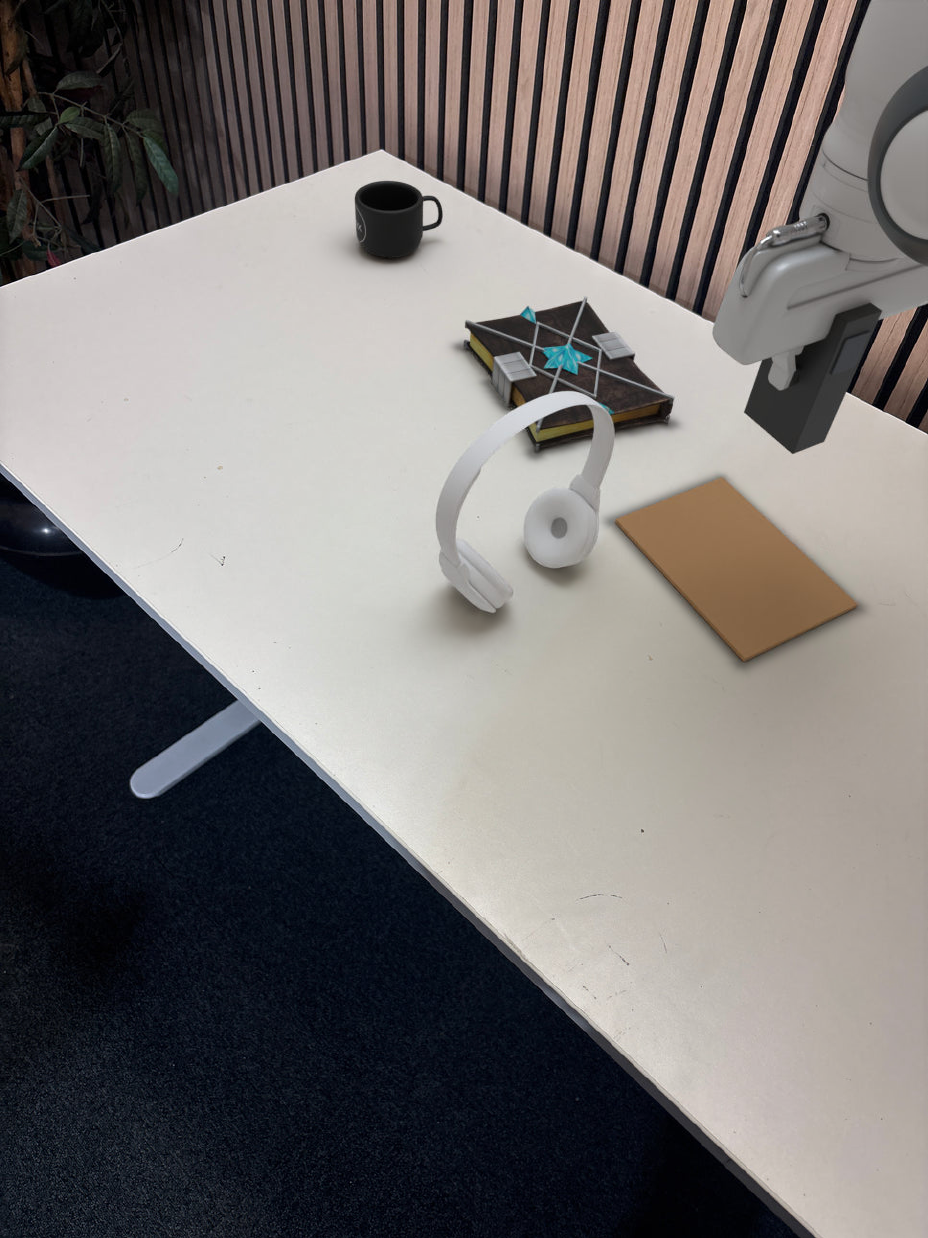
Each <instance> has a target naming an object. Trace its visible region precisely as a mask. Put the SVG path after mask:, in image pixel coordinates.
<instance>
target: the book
mask: <svg viewBox="0 0 928 1238" xmlns="http://www.w3.org/2000/svg"><path fill="white" fill-rule="evenodd" d="M464 328H465V329H467V330H468V331H469V332H470V333H469V334H470V337H469V340H468V339H464V340H463V346H462V347H463V348H465V349H468V350H470V352H471V353H472V354H473V355H474V356H475V358H476V359H477V360H478V361H479V362H480V364H481V365H482V366H483V368H484V369H485V370H486V371H487V372H488V374H489V376H491V384H492V386H493V387H494V389H495V390H496V392H497V393H498V395H499V397H500V398H501V399H502V401H503V402H504V403H505V405H506V407H507V408H510V407H513V408H514V409H516V408H518V407H520V406H522V405H524V404H526V403H528V402H530V401H532V400H534V399H537V398H539V397H542V396H544V395H548V394H551V393H555V392H562V391H574V392H579V393H582V394H585V395H587V396H588V397H590V398H592V399H593V400H595V401H596V402H597V403H599V404H600V405H601V406H602V407H603V408H604V409H605V410H606V411H607V412H608V413H609V415H610V416H611V418H612V421H613V425H614V431H615V430H619V429H623V428H628V427H634V426H639V425H640V426H641V425H644V424H649V423H657V422H661V421H662V422H663V423H667V424H668V423H669V422H670V420H671V415H670V414H672V411H673V407H674V401H675V396H673V395H670V394H668V393H666V392H664V391H663V390H662V389H661V388H660V387H659V386H658V385H657V384H656V383H655V382H654V381H653V380H651V379H650V378H649V377H648V375H647V374H646V373H645V372H643V371H642V370H641V369H640V367H639V366H638V365H637V364H636V362H634V361H635V357H636V353H635V351H634V350H633V349H632V348H631V347H630V346H629V344H628V342H626V341H625V340H624V338H623V337H622V336H621V335H620V334H619V333H618V332H617V331H611V332H610V330H609V329H608V328H607V327H606V326H605V324H604V322H603V321H602V320H601V318H600V317H599V316H598V314H597V313H596V312H595V310H594V309H593V307H592V306H591V304H589V302H588V296H584V297H583V300H578V301H575V302H571V303H568V304H563V305H559V306H554V307H551V308H547V309H542V310H536V311H535V310H534V309H532V308H531V307H530V306H529V305H527V306H526V307H525V308H524V309H523V311H522V312H521V313H519V314H517V315H511V316H506V317H502V318H496V319H489V320H484V321H476V322H474V321H471V320H468V319H466V320H464ZM525 429H526V430H527V432H528V434H529V437H530V439H531V440H532V442H533V444H534V446H535V448H534V451H535V452H539V450H540V449H541V448H545V447H548V446H552V445H556V444H560V443H564V442H568V441H572V440H575V439H579V438H584V437H589V436H593V434H594V420H593V415H592V412H591V410H590V408H589V407H588V406H587V405H575V406H571V407H567V408H564V409H561V410H558V411H556V412H554V413H551V414H549V415H547V416H545V417H543V418H541V419H539V420H537V421H536V422H534V423H532V424H530V425H529V426H527V427H526V428H525Z"/></svg>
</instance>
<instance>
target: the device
mask: <svg viewBox="0 0 928 1238" xmlns="http://www.w3.org/2000/svg"><path fill="white" fill-rule="evenodd" d="M881 313H882V310H881V309H879V308H878V307H876V306H875V305H873V304H872V303H868V304H865V305H862V306H859V307H856V308H853V309H850V310H847V311H844V312H841V313H838V314H836V315H835V317H834V320H833V323H832V325H831V328H830V331H829V333H828V335H827V336H826V338H825V339H823V340H820V341H817V342H814V343H811V344H808V345H805V346H804V347H803V350H802V352H801V353H800V354H799V355H795V363H797V364H798V365H799V366H800V367H802V368H803V370H802V372H801V375H800V377H799V378H798V382H797V384H796V385H794V386H791V387H789V388H786V389H784V390H778V389H777V388H776V387H775V386H773V385H772V384H771V383H770V382H769V380H768V375H769V372H770V369H771V367H772V364H773V361H772V358H771V357H770V358H767V359H764V360H761V361H760V364H759V367H758V370H757V373H756V376H755V379H754V382H753V385H752V387H751V390H750V393H749V397H748V399H747V402H746V405H745V408H744V411H743V413H744V414H745V415H746V416H747V417H748V418H750V419H751V420H752V421H753V422H754V423H755V424H757V425H758V426H759V427H760V428H761V429H762V430H764V431H765V432H766V433H767V434H768V435H769V436H771V437H772V438H773V440H775V441H777V442H778V443H779V444H780V445H781V446H783V447H784V449H786V450H787V451H788V452H789V453H790V454H792V455H794V454H798V453H799V452H803V451H804V450H807V449H810V448H812V447H815V446H818V445H820V444H822V443H825V441H826V439H827V437H828V434H829V432H830V430H831V427H832V425H833V423H834V421H835V418H836V416H837V414H838V412H839V409H840V407H841V406H842V402H843V401H844V399H845V396H846V394H847V392H848V390H849V387H850V385H851V383H852V381H853V380H852V379H853V378H854V376H855V374H856V371H857V370H858V367H859V365H860V363H861V361H862V358H863V355H864V353H865V351H866V349H867V347H868V344H869V342H870V340H871V337H872V335H873V333H874V330H875V328H876V326H877V324H878V321H880V320H879V317H880V315H881Z"/></svg>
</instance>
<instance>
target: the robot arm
mask: <svg viewBox="0 0 928 1238" xmlns="http://www.w3.org/2000/svg"><path fill="white" fill-rule="evenodd" d="M801 201H802V202H801V204H800V207H799V212H798V215H799V216H798V217H799V220H798V221H796V222H793V223H791V224H783V225H778V226H775V227H772V228H771V229H769V230H768V231H767V232H766V235H765V237H764V238H762V239H761V240H760V241H758V242H757V244H756V245H754V246H753V247H751V248H750V249H749V250H748V251H747V252H746V253H745V254H744V256H743V257H742V259H741V260H740V261H739V263H738V265H737V267H736V269H735V271H734V273H733V275H732V276H731V279H730V282H729V284H728V286H727V288H726V291H725V294H724V296H723V299H722V302H721V304H720V307H719V308H718V312H717V314H716V317H715V320H714V323H713V327H712V333H711V334H712V338H713V340H714V342H715V343H716V345H717V346H718V347H719V349H721V350H722V351H723V352H724V353H726V354H727V355H728V356H729V357H730V358H732V359H733V360H734V361H736V362H737V363H738V364H740V365H743V366H748V365H753V364H756V363H758V362H759V363H760V362H761V361H762V360H764V359H767V358H770V357H771V358H772V361H773V364H772V367H771V369H770V372H769V375H768V380H769V382H770V383H771V384H772V385H773V386H775V387H776V388H777V389H778V390H784V389H786V388H789V387H791V386H794V385H796V384H797V382H798V378H799V377H800V375H801V372H802V370H803V368H802V367H800V366H799V365H798V364H797V363H795V355H799V354H800V353H801V352H802V350H803V347H804V346H805V345H808V344H811V343H814V342H817V341H820V340H823V339H825V338H826V336H827V335H828V333H829V331H830V328H831V325H832V323H833V320H834V317H835V315H836V314H838V313H841V312H844V311H847V310H850V309H853V308H856V307H859V306H862V305H865V304H868V303H872V304H873V305H875V306H876V307H878V308H879V309H881V310H882V313H881V315H880V317H879V320H878V321H880V320H883V319H886V318H889V317H892V316H895V315H898V314H901V313H904V312H907V311H910V310H913V309H915V308H918V307H921V306H925V305H927V304H928V0H870V2H869V4H868V7H867V10H866V13H865V15H864V18H863V21H862V23H861V27H860V28H859V31H858V34H857V37H856V40H855V43H854V45H853V49H852V51H851V54H850V58H849V60H848V64H847V66H846V70H845V77H844V91H843V97H842V101H841V104H840V107H839V110H838V112H837V114H836V117H835V118H834V120H833V121H832V122H831V124H830V125H829V127H828V128H827V130H826V132H825V133H824V136H823V139H822V141H821V144H820V148H819V151H818V154H817V157H816V159H815V162H814V164H813V169H812V172H811V174H810V177H809V180H808V184H807V187H806V189H805V192H804V196H803V199H802V200H801Z"/></svg>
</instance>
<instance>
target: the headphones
mask: <svg viewBox="0 0 928 1238" xmlns="http://www.w3.org/2000/svg"><path fill="white" fill-rule="evenodd" d="M575 405H587V406H588V407H589V408H590V410H591V412H592V415H593V420H594V434H593V435H592V440H591V445H590V448H589V452H588V455H587V458H586V461H585V463H584V466H583V469H582V471H581V473H580V474H579V473H577V474H576V475H575V476H574V477H573V478H572V480H571V481H570V483H569V487H568V488H567V487H562V486H554V487H552V488H549V489H548V490H546V491H544V492H542V493H540V495H538V496H537V497H536V498H535V499H534V500H533V501H532V503H531V504H530V506H529V507H528V510H527V512H526V514H525V517H524V521H523V529H522V530H523V532H522V533H523V540H524V545H525V547H526V549H527V552H528V553H529V555H530V556H531V558H532V559H533V560H534V561H536V563H538V564H539V565H541V566H542V567H546V568H549V569H560V568H564V567H565V568H566V567H570V566H575V565H577V564H579V563H582V561H584V560H585V559H586V558H587V557H588V556H589V555H590V554H591V553H592V551H593V550H594V548H595V546H596V543H597V542H598V541H597V540H598V536H599V530H600V517H599V513H600V505H601V504H600V503H601V492H602V491H601V489H600V487H601V485H602V484H603V483H602V482H603V480H604V478H605V475H606V473H607V470H608V467H609V465H610V462H611V458H612V456H613V451H614V446H615V436H616V435H615V434H616V432H615V430H614V425H613V421H612V418H611V416H610V415H609V413H608V412H607V411H606V410H605V409H604V408H603V407H602V406H601V405H600V404H599V403H597V402H596V401H595V400H593V399H592V398H590V397H588V396H587V395H585V394H582V393H579V392H574V391H562V392H555V393H551V394H548V395H544V396H542V397H539V398H537V399H534V400H532V401H530V402H528V403H526V404H524V405H522V406H520V407H518V408H516V409H515V408H514V409H512V410H511V411H509V412H508V413H506V414H505V415H503V416H502V417H500V418H499V419H498V420H496V421H495V422H494V423H492V424H491V425H490V426H488V427H487V429H485V430H483V432H482V433H481V434H480V435H479V436H478V437H477V438H476V439H475V440H474V441H473V442H472V443H471V444H470V445H469V446H468V447H467V448H466V450H464V452H463V453H462V454H461V456H460V457H459V458H458V460H457V461H456V462H455V464H454V466H453V467H452V469H451V470H450V472H449V474H448V476H447V478H446V480H445V482H444V484H443V486H442V488H441V491H440V494H439V497H438V501H437V506H436V510H435V531H436V538H437V540H438V543H439V547H440V550H439V553H438V564H439V566H440V569H441V570H440V571H441V573H442V574H443V576H444V577H445V578H446V579H447V581H448V582H449V583H450V584H451V585H452V586H453V587H454V588H455V589H456V590H457V591H458V592H459V593H460V594H461V595H463V596H464V597H465V598H466V599H467V600H468V601H469V602H470V603H471V604H472V605H474V606H475V607H476V608H477V609H480V610H481V611H484V612H488V613H492V614H494V613H496V611H497V610H496V609H500V608H502V607H503V605H505V603H506V602H507V601H509V600H511V599H512V597H513V596H514V589H513V587H512V586H511V585H510V583H509V582H508V581H507V580H506V579H505V578H504V577H503V576H502V575H501V573H499V571H497V569H495V567H494V566H493V565H492V564H491V563H490V562H488V561H487V560H486V558H484V556H482V555H481V554H480V553H479V551H477V550H476V549H475V548H474V547H473V546H472V545H471V544H470V543H468V542H467V541H465V540H464V539H463V538H457V527H458V526H457V525H458V520H459V517H460V513H461V510H462V507H463V505H464V502H465V501H466V498H467V496H468V494H469V493H470V490H471V488H472V487H473V486H474V484H475V482H476V481H477V479H478V477H479V476H480V474H481V471H482V468H483V466H484V465H485V464H486V463H487V462H488V461H489V460H490V458H491V457H492V456H493V455H494V454H495V453H496V452H497V451H498V450H499V449H500V448H502V447H503V445H505V444H506V443H507V442H508V441H510V440H511V439H512V438H513V437H514V436H516V435H517V434H519V433H520V432H521V431H523V430H524V429H527V428H526V427H527V426H529V425H530V424H532V423H534V422H536V421H537V420H539V419H541V418H543V417H545V416H547V415H549V414H551V413H554V412H556V411H558V410H561V409H564V408H567V407H571V406H575Z"/></svg>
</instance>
